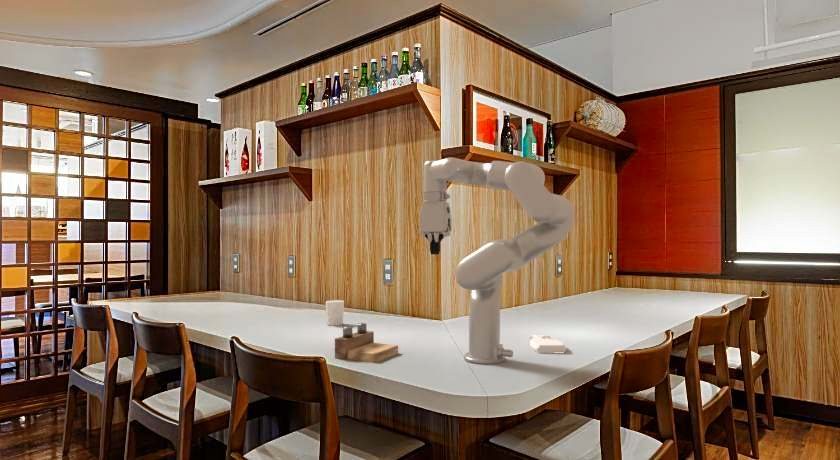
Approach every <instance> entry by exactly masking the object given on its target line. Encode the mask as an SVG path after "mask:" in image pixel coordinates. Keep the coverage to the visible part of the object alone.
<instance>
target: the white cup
mask: <svg viewBox="0 0 840 460" xmlns="http://www.w3.org/2000/svg"><path fill="white" fill-rule="evenodd" d="M344 312H345V301H344V300H341V299H335V300H334V299H331V300H326V301H325V315H326V325H327V326H332V327H334V326H335V327H336V326H342V325H343V323H344V314H345V313H344Z"/></svg>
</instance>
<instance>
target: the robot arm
mask: <svg viewBox="0 0 840 460" xmlns="http://www.w3.org/2000/svg"><path fill="white" fill-rule="evenodd" d="M545 181H546V176H545V172H544V171H543V169H542V168H541V167H540V166H538V165H536V164H533V163H530V162H526V161H515V162H510V161H503V160H492V161H491V162H477V161H471V160H469V161H468V160H466V159H461V158H456V157H445V158H443V159H438V160H434V159H433V160H426V161H425V162H424V164H423V202H421V206H420V212H419V221H418V222H419V225H418V226H419V228H418V229H419V236H420V237H424V238H426V240H427V241H428V243H429V252H430V255H440V251H441V242H442V240H444V238H447V237H449V236H451V235H452V234H451V232H452V229H453V225H452V213H451V207H450V202H448V199H451V195H450V194H448V193H447V182H453V183H460V184H465V185H466V184H467V185H473V186H481V187H488V188H489V189H494V190H503V191H509V192H511V194H512V195H513V197H514V198H515V199H516V200H517V202H518V203H519V205H520V206H521V208H522V209H523V210H524V211H525V213H526V215H528V216H529V217H530V218H531V219H532V220H533V221H534V222H537V223H536V224H534V225H532V226H530V227H528V228H526V229H525V230H523V231H522V232H520V233H519V234H517V235H515V236H514V237H511V238H507V239H506V238H505V239H504V238H502V239H494V240H492V241H490V242H488V243H486V244H485V245H483V246H482V247H480V248H478V249H477V250H475V251H474V252H472V253H471V254H469V255H468V256H465V258H463V259H462V260H461V261H459V263H458V264H457V266H456V268H455V274H454V275H455V280H456V283H457V284H458V285H459V286H460V287H461V288H463V289H466V290H468V291H470V294H469V301H468V352H466V353H464V354H463V358H464V360H465V361H466V362H469V363H473V364H483V365H487V364H489V365H490V364H498V363H499V364H500V363H504V362H505V361H506V357H507V358H513V356H514V350H512V349H506V348H504V344H501V290H502V284H503V277H504V276H503V275H504V273H509V272H515V271H518V270H519V269H521V268H523V267H524V266H525V265H527V264H529V263H531V262H532V261H534V260H535V259H536V258H537V259H538V257H540V256H542V255H543V254H545V253H546V252H548V251H549V250H551V249H554V248H555V247H556V246H557V245H558V244H560V243H561V242H562V241H564V239H566V237H567V236H568V234H569V233H570V231H571V230H572V226H573V223H574V219H575V218H574V217H575V216H574V208H573V205H572V202H570V200H569V199H568V198H566V197H565V196H562V195H560V194H556V193H550V191H549V190H548V189H547V187H546V186H545Z"/></svg>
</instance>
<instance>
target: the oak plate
mask: <svg viewBox="0 0 840 460" xmlns="http://www.w3.org/2000/svg"><path fill="white" fill-rule="evenodd" d="M397 354H399V345H396V344H387V343H377V342H374V343H370V344H367V345H363V346H360V347H357V348H354V349H351V350H348V351H347V359H346V360H352V359H354V360H355V361H360V360H361V362H367V363H377V362H380V361H382V360H384V359H387V358H389V357H392V356H396V355H397Z"/></svg>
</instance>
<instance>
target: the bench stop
mask: <svg viewBox="0 0 840 460" xmlns="http://www.w3.org/2000/svg"><path fill="white" fill-rule="evenodd" d="M367 325H368V324H367V323H365V322H360V323H359V322H358V323H357V332H354V333H353V326H344V327H342V336H339V337H336V338H334V359H340V360H348V359H347V351H348V350H351V349H354V348H357V347H360V346H363V345H367V344H370V343H375V341H374V339H375V337H374V336H375V335H374V334H375V333H374V332H375V331H373V330H367Z"/></svg>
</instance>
